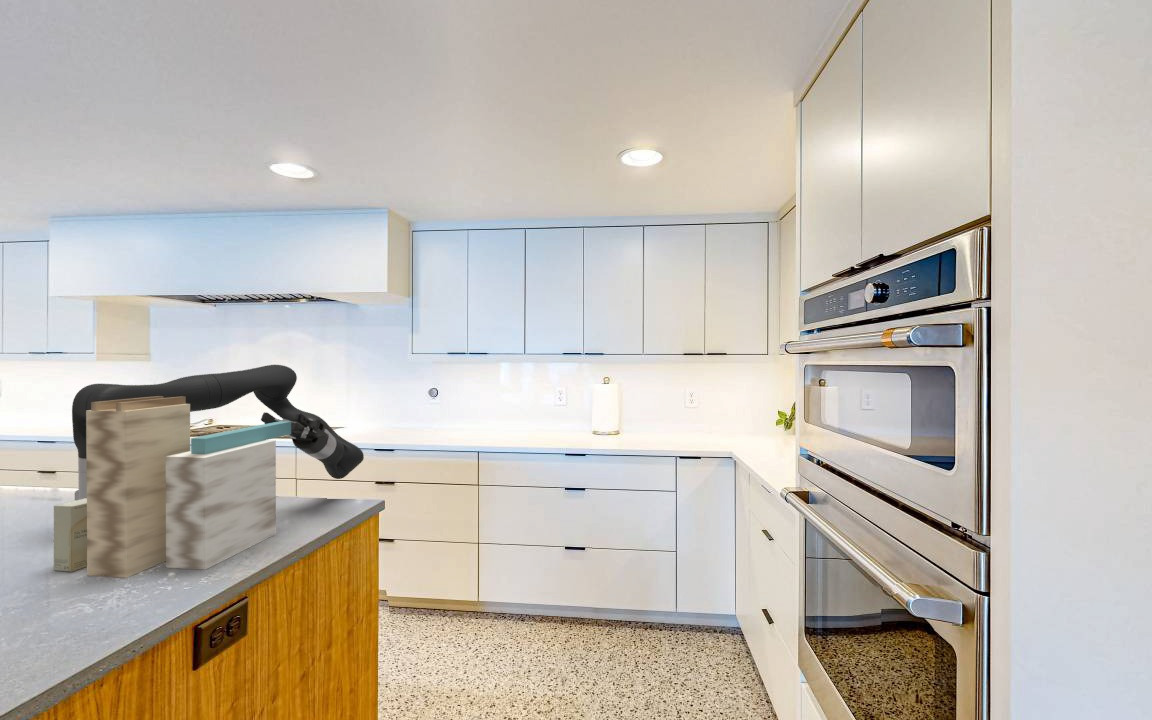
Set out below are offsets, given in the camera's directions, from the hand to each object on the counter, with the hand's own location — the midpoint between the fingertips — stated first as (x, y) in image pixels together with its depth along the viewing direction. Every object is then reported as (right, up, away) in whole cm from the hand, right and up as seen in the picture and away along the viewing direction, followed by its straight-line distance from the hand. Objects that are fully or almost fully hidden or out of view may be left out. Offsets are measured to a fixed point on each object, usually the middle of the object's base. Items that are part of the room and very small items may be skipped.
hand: (280, 416), depth 128 cm
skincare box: (-24, -26, -25) cm, 44 cm away
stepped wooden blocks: (-8, -26, -19) cm, 33 cm away
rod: (-1, -5, -11) cm, 12 cm away
